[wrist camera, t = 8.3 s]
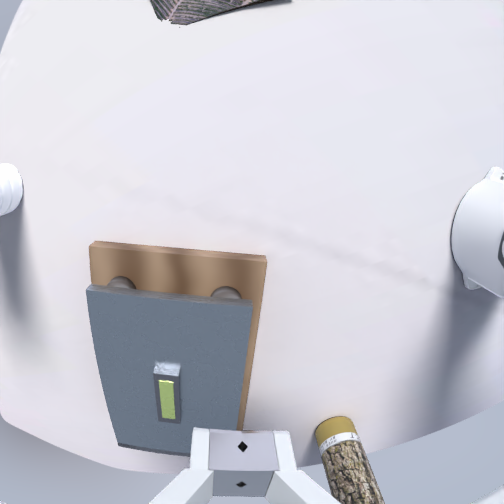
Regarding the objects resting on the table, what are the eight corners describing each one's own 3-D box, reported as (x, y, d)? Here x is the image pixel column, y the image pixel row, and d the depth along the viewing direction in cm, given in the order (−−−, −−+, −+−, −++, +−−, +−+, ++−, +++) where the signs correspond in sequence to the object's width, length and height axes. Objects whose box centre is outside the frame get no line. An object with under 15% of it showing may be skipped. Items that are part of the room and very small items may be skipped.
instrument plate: (251, 299, 32) (253, 312, 29) (231, 452, 40) (232, 466, 38) (91, 283, 30) (81, 294, 27) (121, 439, 38) (117, 452, 36)
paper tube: (317, 442, 48) (349, 560, 24) (310, 422, 46) (346, 553, 22) (353, 430, 48) (396, 544, 24) (350, 409, 45) (399, 535, 22)
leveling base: (265, 255, 36) (270, 271, 31) (239, 436, 46) (240, 457, 41) (95, 240, 34) (78, 254, 29) (121, 423, 44) (115, 443, 39)
